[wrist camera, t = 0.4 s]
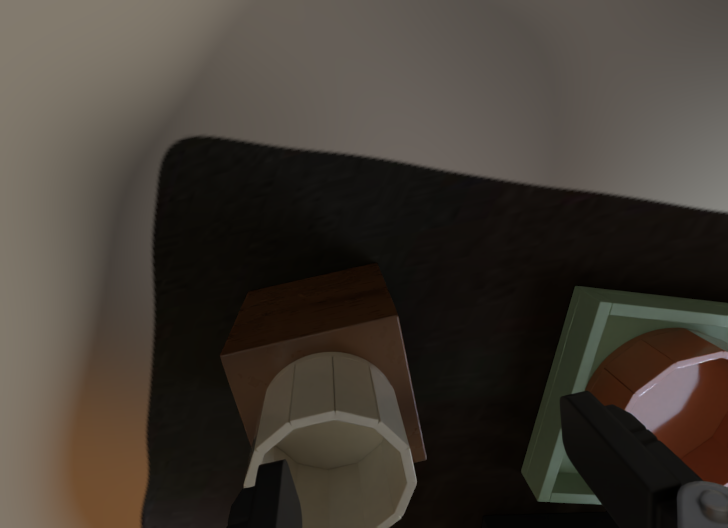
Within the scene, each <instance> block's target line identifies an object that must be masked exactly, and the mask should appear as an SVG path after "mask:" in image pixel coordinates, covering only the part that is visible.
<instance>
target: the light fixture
mask: <svg viewBox="0 0 728 528" xmlns="http://www.w3.org/2000/svg"><path fill="white" fill-rule="evenodd" d="M482 528H619V527H618V525H617V524H616V523H615V521H614V520H613V519H612V517H611V516H610V515H609V513H608V512H593V513H562V514H530V515H499V516H484V517H483V522H482Z"/></svg>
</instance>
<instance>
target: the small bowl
mask: <svg viewBox="0 0 728 528" xmlns="http://www.w3.org/2000/svg"><path fill="white" fill-rule="evenodd" d="M283 459H286V461H287V463H288V465H289V468H290V472H291V475H292V478H293V481H294V484H295V488H296V491H297V494H298V497H299V501H300V505H301V511H302V528H389V527H391V526H392V525H393V524H394V523H396V522H397V521H398V520H400V519H401V516H403V515H404V513H405V510H406V508H407V506H408V503H409V501H410V499H411V496H412V494H413V492H414V489H415V487H416V485H417V483H416V482H417V479H416V474H415V469H414V464H413V460H412V455H411V450H410V446H409V443H408V439H407V435H406V432H405V428H404V424H403V421H402V417H401V413H400V410H399V406H398V402H397V399H396V395H395V391H394V389H393V387H392V386H391V384H390V382H389V381H388V379H387V378H386V376H385V375H384V374H383V373H382V372H381V371H380V370H379V369H378V368H377V367H376V366H374V365H373V364H371V363H370V362H368V361H367V360H365V359H363V358H360V357H358V356H355V355H352V354H348V353H342V352H321V353H315V354H311V355H308V356H305V357H302V358H300V359H298V360H296V361H294V362H292V363H291V364H289V365H288V366H286V367H285V368H284V369H282V370H281V371H280V372H279V373H278V374H277V375H276V376H275V378H274V379H273V380H272V381H271V383H270V385H269V386H268V388H267V390H266V393H265V395H264V398H263V402H262V406H261V410H260V413H259V416H258V420H257V425H256V429H255V434H254V438H253V443H252V448H251V452H250V457H249V461H248V466H247V471H246V475H245V480H244V484H243V485H244V488H248V487H252V486H255V481H256V475H257V470H258V467H259V465H261V464H265V463H270V462H274V461H279V460H283Z"/></svg>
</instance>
